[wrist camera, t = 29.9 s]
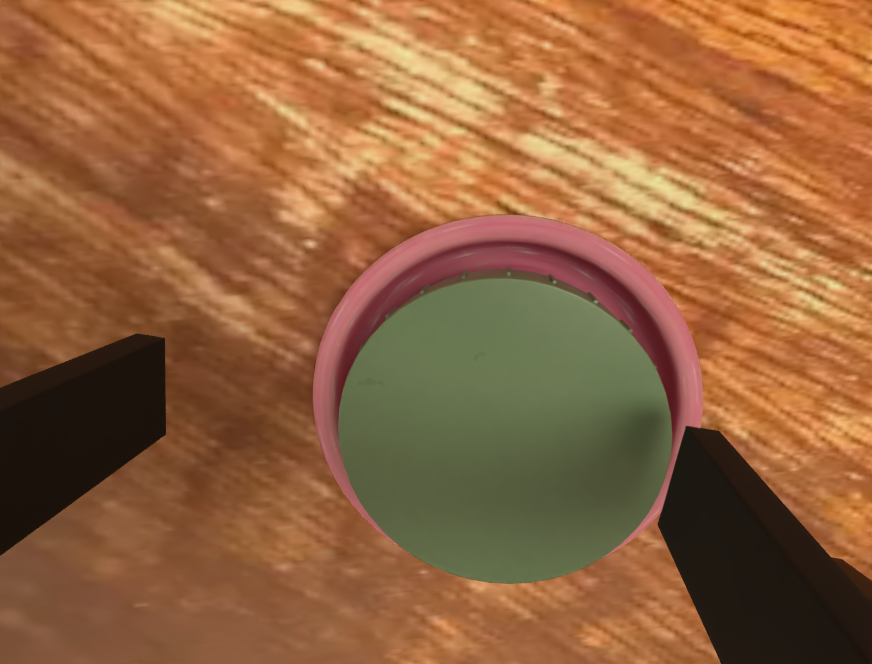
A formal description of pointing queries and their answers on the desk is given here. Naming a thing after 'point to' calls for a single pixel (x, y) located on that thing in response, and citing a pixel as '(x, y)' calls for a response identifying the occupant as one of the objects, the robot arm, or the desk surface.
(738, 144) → the desk surface
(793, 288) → the desk surface
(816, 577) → the robot arm
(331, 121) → the desk surface
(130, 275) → the desk surface
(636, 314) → the saucer
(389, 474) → the lid
